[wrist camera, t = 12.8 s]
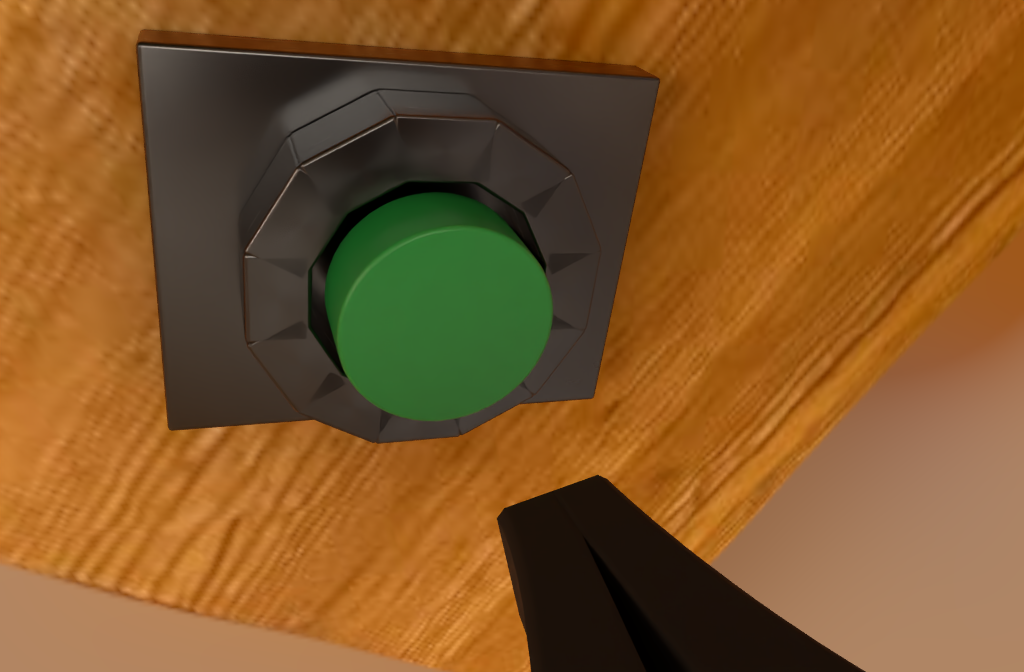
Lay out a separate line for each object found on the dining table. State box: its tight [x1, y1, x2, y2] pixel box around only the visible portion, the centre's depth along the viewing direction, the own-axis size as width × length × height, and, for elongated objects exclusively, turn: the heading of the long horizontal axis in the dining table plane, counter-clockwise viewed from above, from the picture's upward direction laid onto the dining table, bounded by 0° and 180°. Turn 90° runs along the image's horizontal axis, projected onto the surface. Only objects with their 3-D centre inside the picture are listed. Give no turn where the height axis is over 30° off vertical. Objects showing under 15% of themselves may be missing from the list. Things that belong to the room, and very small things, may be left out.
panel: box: [136, 30, 660, 444], centre depth 17 cm, size 10×8×3 cm
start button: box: [325, 192, 553, 421], centre depth 16 cm, size 4×4×2 cm
